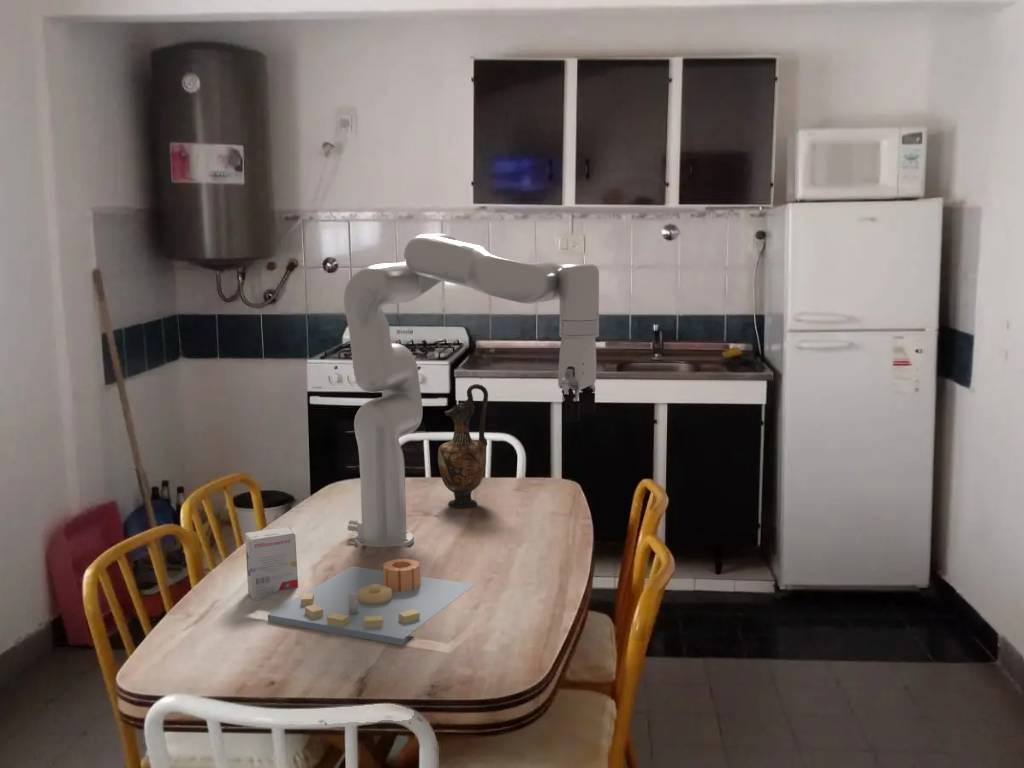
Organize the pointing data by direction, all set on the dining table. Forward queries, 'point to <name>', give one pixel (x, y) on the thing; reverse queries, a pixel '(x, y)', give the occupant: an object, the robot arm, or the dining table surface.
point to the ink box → (271, 561)
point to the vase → (464, 452)
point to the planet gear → (401, 574)
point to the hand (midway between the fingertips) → (579, 416)
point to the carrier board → (368, 606)
